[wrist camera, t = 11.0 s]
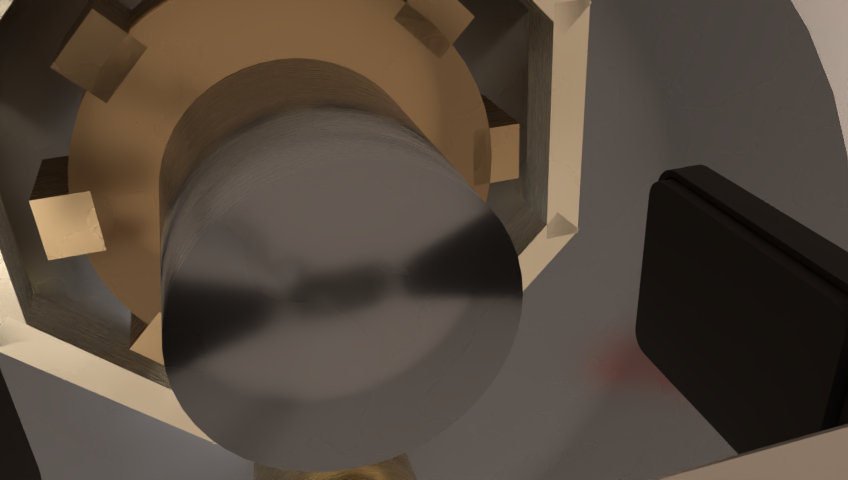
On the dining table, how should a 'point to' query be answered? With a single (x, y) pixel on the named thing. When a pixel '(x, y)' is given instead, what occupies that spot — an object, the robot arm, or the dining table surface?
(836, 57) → the dining table surface
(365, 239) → the gear
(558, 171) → the carrier plate
